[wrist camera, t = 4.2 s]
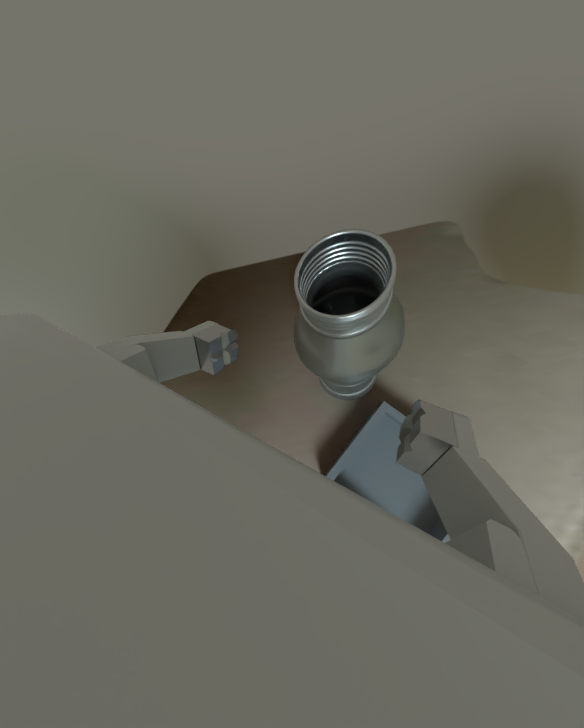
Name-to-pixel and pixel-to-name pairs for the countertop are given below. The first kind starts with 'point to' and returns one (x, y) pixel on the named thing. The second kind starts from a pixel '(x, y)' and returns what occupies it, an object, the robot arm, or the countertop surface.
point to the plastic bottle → (347, 311)
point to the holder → (386, 473)
